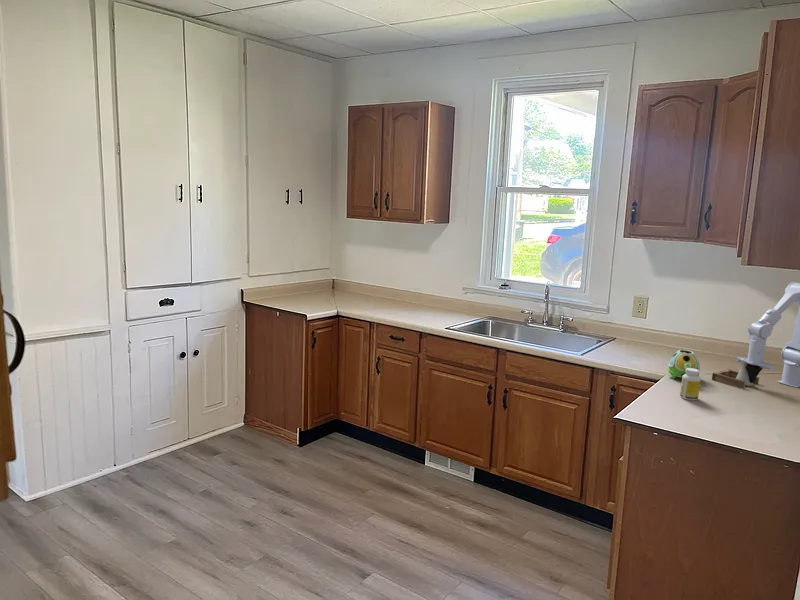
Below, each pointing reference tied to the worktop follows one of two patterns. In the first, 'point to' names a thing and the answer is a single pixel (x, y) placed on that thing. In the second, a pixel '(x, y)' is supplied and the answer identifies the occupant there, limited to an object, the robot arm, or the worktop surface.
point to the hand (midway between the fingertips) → (751, 382)
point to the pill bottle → (690, 384)
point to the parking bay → (730, 378)
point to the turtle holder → (682, 363)
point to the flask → (744, 374)
